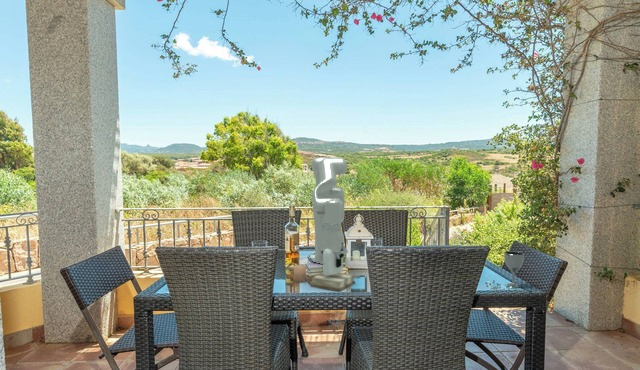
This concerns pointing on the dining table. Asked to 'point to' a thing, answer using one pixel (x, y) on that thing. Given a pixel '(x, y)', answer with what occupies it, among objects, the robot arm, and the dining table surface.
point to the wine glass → (514, 263)
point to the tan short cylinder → (300, 273)
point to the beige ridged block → (333, 281)
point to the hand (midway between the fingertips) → (332, 265)
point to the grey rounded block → (331, 263)
